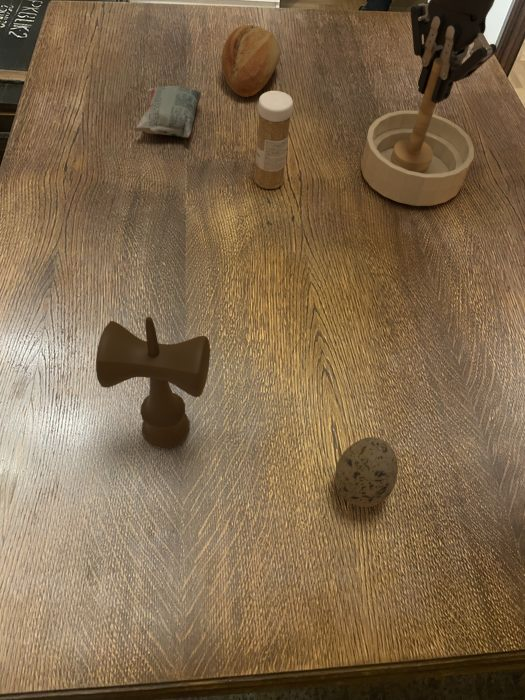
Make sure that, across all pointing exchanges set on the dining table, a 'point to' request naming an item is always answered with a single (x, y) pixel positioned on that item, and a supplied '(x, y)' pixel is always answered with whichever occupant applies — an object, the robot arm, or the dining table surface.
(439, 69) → the wooden peg stand
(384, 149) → the bowl
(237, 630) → the dining table surface
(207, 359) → the kendama
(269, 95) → the sprinkles bottle
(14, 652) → the dining table surface
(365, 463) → the decorative egg
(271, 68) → the bread roll
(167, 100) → the packaged food
